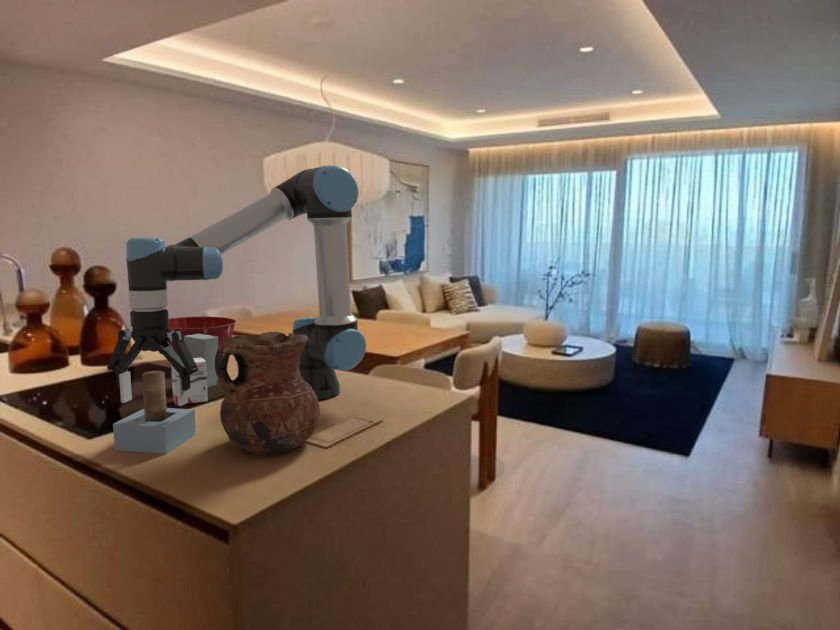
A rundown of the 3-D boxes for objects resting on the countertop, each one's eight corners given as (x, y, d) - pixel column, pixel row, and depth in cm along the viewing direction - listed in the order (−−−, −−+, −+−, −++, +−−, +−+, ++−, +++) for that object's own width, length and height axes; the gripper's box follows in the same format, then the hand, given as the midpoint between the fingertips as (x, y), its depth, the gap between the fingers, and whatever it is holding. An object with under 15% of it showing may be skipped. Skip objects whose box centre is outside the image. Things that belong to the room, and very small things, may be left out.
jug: (265, 423, 137) (262, 325, 134) (337, 435, 129) (336, 332, 126) (199, 455, 117) (193, 340, 113) (279, 472, 109) (276, 350, 105)
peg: (172, 438, 126) (168, 371, 124) (160, 446, 122) (156, 376, 119) (154, 437, 127) (150, 370, 124) (141, 445, 122) (137, 375, 120)
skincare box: (182, 386, 168) (179, 336, 166) (199, 381, 175) (197, 332, 172) (203, 390, 165) (201, 338, 163) (220, 384, 172) (218, 334, 169)
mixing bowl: (218, 351, 219) (217, 313, 217) (250, 364, 198) (249, 322, 196) (143, 361, 200) (140, 320, 198) (169, 377, 179) (167, 330, 177)
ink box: (175, 405, 150) (173, 364, 148) (172, 401, 154) (170, 360, 152) (208, 401, 154) (206, 360, 153) (204, 396, 159) (202, 357, 157)
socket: (195, 433, 129) (194, 409, 128) (166, 453, 117) (164, 427, 117) (148, 431, 131) (147, 406, 130) (114, 450, 119) (112, 424, 118)
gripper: (211, 308, 122) (215, 400, 125) (108, 305, 125) (114, 394, 128) (193, 313, 114) (198, 410, 118) (84, 309, 117) (91, 404, 121)
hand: (154, 402), depth 123 cm, fingers open, 13 cm apart
